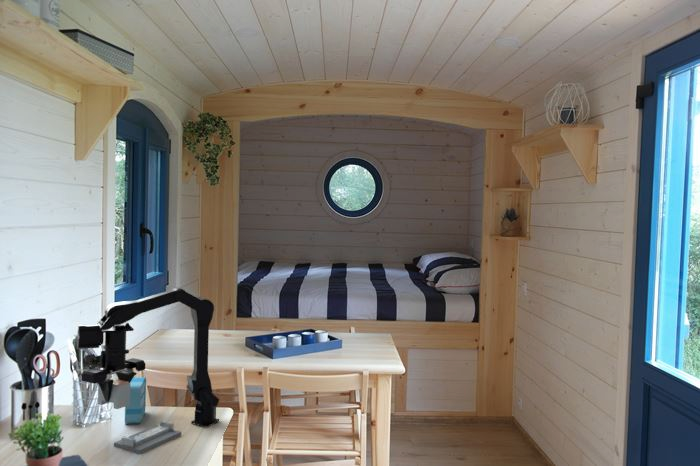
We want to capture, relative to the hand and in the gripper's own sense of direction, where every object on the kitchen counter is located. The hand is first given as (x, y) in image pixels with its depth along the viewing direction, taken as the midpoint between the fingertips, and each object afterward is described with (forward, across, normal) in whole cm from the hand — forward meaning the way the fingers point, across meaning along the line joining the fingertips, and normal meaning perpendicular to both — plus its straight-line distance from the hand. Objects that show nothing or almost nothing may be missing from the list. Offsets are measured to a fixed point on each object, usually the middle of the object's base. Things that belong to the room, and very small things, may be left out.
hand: (114, 399), depth 170 cm
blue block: (+11, -14, -6) cm, 19 cm away
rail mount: (+11, -3, +11) cm, 16 cm away
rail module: (+2, 0, 0) cm, 2 cm away
